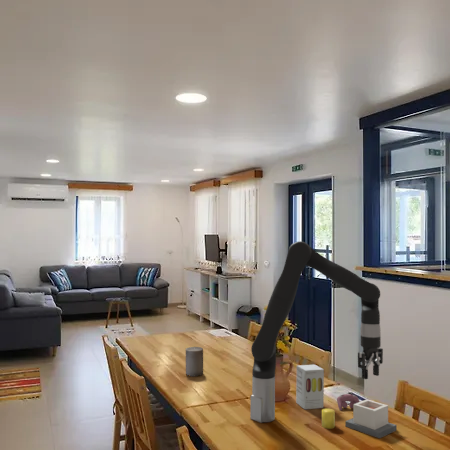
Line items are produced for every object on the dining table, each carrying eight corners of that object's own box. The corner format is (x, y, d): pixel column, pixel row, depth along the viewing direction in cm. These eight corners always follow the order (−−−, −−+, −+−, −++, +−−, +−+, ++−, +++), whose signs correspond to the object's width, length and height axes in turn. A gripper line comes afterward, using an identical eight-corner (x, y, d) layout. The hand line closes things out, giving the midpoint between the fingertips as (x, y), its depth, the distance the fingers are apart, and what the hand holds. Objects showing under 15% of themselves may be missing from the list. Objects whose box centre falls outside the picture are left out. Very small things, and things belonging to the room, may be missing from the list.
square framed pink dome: (379, 438, 177) (379, 413, 178) (345, 426, 189) (345, 403, 189) (396, 430, 185) (396, 406, 185) (362, 419, 197) (362, 396, 197)
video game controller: (359, 411, 210) (357, 394, 213) (362, 409, 206) (360, 392, 209) (337, 411, 209) (335, 394, 213) (339, 410, 205) (337, 393, 209)
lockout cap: (329, 429, 185) (329, 414, 186) (319, 425, 189) (319, 410, 189) (337, 426, 189) (337, 411, 189) (327, 422, 192) (327, 407, 193)
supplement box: (304, 409, 207) (304, 370, 207) (295, 402, 216) (295, 365, 216) (324, 407, 209) (324, 369, 210) (315, 401, 218) (315, 363, 219)
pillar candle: (204, 371, 265) (204, 344, 266) (201, 376, 255) (201, 348, 256) (187, 371, 266) (187, 344, 267) (183, 376, 256) (183, 348, 257)
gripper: (368, 338, 181) (368, 382, 180) (389, 333, 190) (389, 375, 189) (351, 335, 186) (351, 378, 186) (372, 331, 196) (372, 371, 195)
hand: (370, 376), depth 188 cm, fingers open, 7 cm apart
